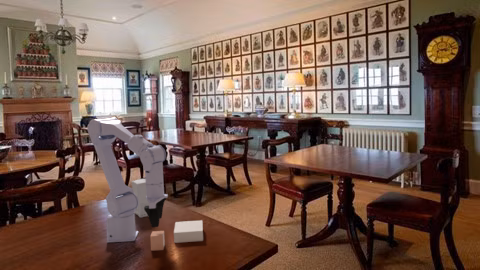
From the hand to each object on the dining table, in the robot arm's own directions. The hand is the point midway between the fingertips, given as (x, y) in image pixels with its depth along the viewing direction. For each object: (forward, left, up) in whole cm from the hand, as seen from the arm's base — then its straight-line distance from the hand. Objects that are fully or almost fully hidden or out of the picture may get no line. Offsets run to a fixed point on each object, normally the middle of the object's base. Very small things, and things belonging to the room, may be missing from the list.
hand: (156, 222), depth 113 cm
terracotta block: (0, 0, -9) cm, 9 cm away
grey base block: (+10, +8, -9) cm, 16 cm away
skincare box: (-11, +34, -9) cm, 37 cm away
